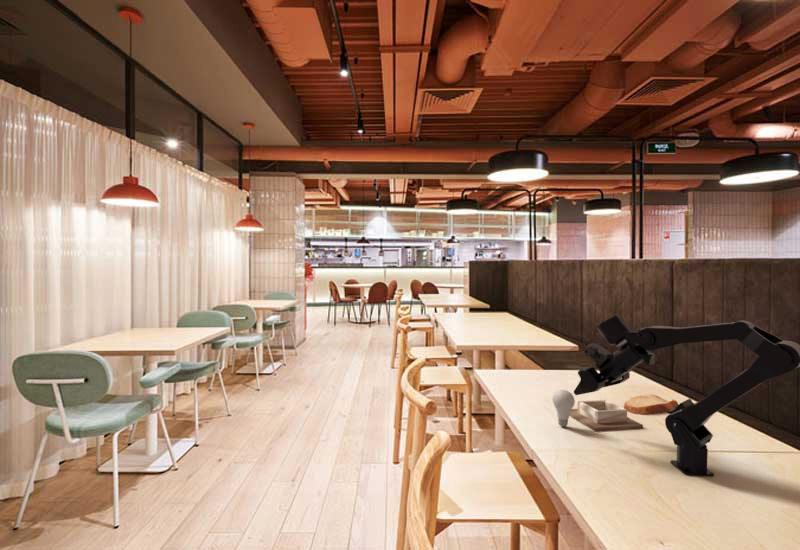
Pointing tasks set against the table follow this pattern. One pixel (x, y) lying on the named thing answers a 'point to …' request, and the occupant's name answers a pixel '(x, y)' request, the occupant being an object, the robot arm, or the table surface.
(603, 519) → the table surface
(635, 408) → the slice of bread
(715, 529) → the table surface
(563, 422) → the lightbulb
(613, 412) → the socket board
